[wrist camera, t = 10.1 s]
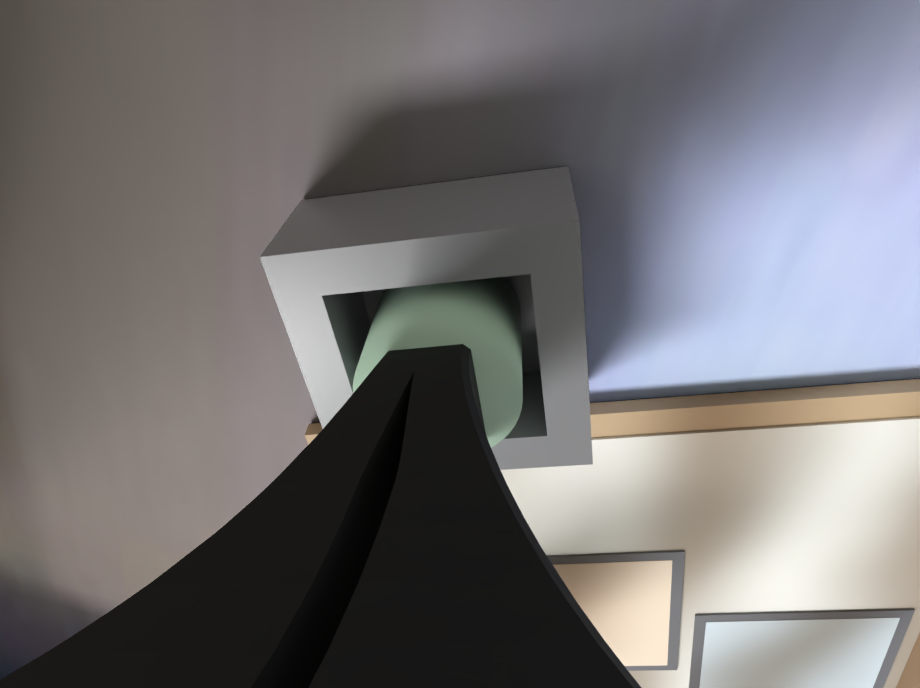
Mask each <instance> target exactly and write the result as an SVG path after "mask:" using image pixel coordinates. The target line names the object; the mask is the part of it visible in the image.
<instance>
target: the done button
mask: <svg viewBox="0 0 920 688" xmlns="http://www.w3.org/2000/svg"><path fill="white" fill-rule="evenodd" d="M457 344H464V345H465V346H467V347H468V348H469V349H471V352H472V358H473V364H474V369H475V375H476V381H477V386H478V392H479V398H480V403H481V409H482V415H483V420H484V426H485V431H486V436H487V439H488V441H489V444H490V447H491V448H492V447H493V446H495V445H497V444H498V443H499V442H500V441H502V440H503V439H504V438H505V437H506V436H507V435H508V434H509V433H510V432H511V430H512V429H513V428H514V426H515V425H516V423H517V421H518V419H519V416H520V413H521V410H522V403H523V383H522V329H521V311H520V306H519V303H518V300H517V297H516V295H515V294H514V292H513V290H512V288H511V287H510V286H509V284H508V283H507V282H506V281H505V280H504V279H503V278H502V277H497V278H487V279H477V280H468V281H458V282H449V283H439V284H429V285H420V286H410V287H401V288H391V289H384V291H383V293H382V296H381V299H380V301H379V304H378V307H377V310H376V313H375V316H374V319H373V322H372V325H371V328H370V330H369V333H368V336H367V339H366V342H365V345H364V348H363V351H362V354H361V357H360V359H359V362H358V365H357V368H356V371H355V375H354V379H353V393H354V392H355V391H356V389H357V388H358V387H359V386H360V384H361V383H362V382H363V381H364V379H365V378H366V377H367V376H368V375H369V373H370V372H371V371H372V370H373V368H374V367H375V366H376V365H377V364H378V362H379V361H380V360H381V359H382V358H383V357H384V355H385V354H386V353H387V352H388V351H391V350H402V349H413V348H424V347H435V346H446V345H457Z"/></svg>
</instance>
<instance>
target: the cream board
mask: <svg viewBox="0 0 920 688" xmlns="http://www.w3.org/2000/svg"><path fill="white" fill-rule="evenodd" d="M590 420H591V438H592V457H593V464H590V465H574V466H557V467H540V468H523V469H507V470H501V472H502V474H503V477H504V479H505V481H506V483H507V485H508V487H509V489H510V491H511V493H512V495H513V497H514V499H515V501H516V503H517V505H518V507H519V509H520V510H521V512H522V514H523V516H524V518H525V520H526V521H527V523H528V525H529V527H530V528H531V530H532V532H533V534H534V535H535V537H536V539H537V541H538V542H539V544H540V546H541V548H542V549H543V551H544V552H545V554H546V555H547V557H548V558H549V560H550V561H551V563H552V564H553V566H554V568H555V569H556V571H557V572H558V574H559V575H560V577H561V578H562V580H563V581H564V583H565V585H566V586H567V588H568V589H569V591H570V592H571V594H572V595H573V597H574V598H575V600H576V601H577V603H578V604H579V606H580V607H581V608H582V610H583V611H584V613H585V614H586V615H587V617H588V618H589V619H590V621H591V622H592V624H593V625H594V626H595V628H596V629H597V631H598V632H599V633H600V635H601V636H602V637H603V639H604V640H605V642H606V643H607V644H608V645H609V647H610V648H611V649H612V651H613V652H614V653H615V655H616V656H617V657H618V658H619V660H620V661H621V662H622V664H623V665H624V666H625V667H626V669H627V670H628V671H629V673H630V674H631V675H632V676H633V678H634V679H635V680H636V681H637V683H638V684H639V685H640V686H641V687H642V688H920V379H911V380H897V381H884V382H870V383H857V384H843V385H830V386H816V387H802V388H789V389H775V390H762V391H748V392H735V393H721V394H707V395H694V396H680V397H667V398H653V399H640V400H626V401H612V402H599V403H590ZM321 431H322V426H321V423H314V424H309V426H308V428H307V431H306V433H305V437H306V440H307V442H308V445H309V444H310V443H311V442H312V440H313V439H314V438H315V437H316V436H317V435H318V434H319V433H320V432H321Z"/></svg>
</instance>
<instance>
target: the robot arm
mask: <svg viewBox="0 0 920 688" xmlns="http://www.w3.org/2000/svg"><path fill="white" fill-rule="evenodd" d="M0 688H642V687H641V686H640V685H639V684H638V683H637V681H636V680H635V679H634V678H633V676H632V675H631V674H630V673H629V671H628V670H627V669H626V667H625V666H624V665H623V664H622V662H621V661H620V660H619V658H618V657H617V656H616V655H615V653H614V652H613V651H612V649H611V648H610V647H609V645H608V644H607V643H606V642H605V640H604V639H603V637H602V636H601V635H600V633H599V632H598V631H597V629H596V628H595V626H594V625H593V624H592V622H591V621H590V619H589V618H588V617H587V615H586V614H585V613H584V611H583V610H582V608H581V607H580V606H579V604H578V603H577V601H576V600H575V598H574V597H573V595H572V594H571V592H570V591H569V589H568V588H567V586H566V585H565V583H564V581H563V580H562V578H561V577H560V575H559V574H558V572H557V571H556V569H555V568H554V566H553V564H552V563H551V561H550V560H549V558H548V557H547V555H546V554H545V552H544V551H543V549H542V548H541V546H540V544H539V542H538V541H537V539H536V537H535V535H534V534H533V532H532V530H531V528H530V527H529V525H528V523H527V521H526V520H525V518H524V516H523V514H522V512H521V510H520V509H519V507H518V505H517V503H516V501H515V499H514V497H513V495H512V493H511V491H510V489H509V487H508V485H507V483H506V481H505V479H504V477H503V474H502V472H501V470H500V468H499V466H498V463H497V461H496V458H495V456H494V454H493V451H492V449H491V447H490V444H489V441H488V439H487V436H486V431H485V426H484V420H483V415H482V409H481V403H480V398H479V392H478V386H477V381H476V375H475V369H474V364H473V358H472V352H471V349H469V348H468V347H467V346H465V345H464V344H457V345H446V346H435V347H424V348H413V349H402V350H391V351H388V352H387V353H386V354H385V355H384V357H383V358H382V359H381V360H380V361H379V362H378V364H377V365H376V366H375V367H374V368H373V370H372V371H371V372H370V373H369V375H368V376H367V377H366V378H365V379H364V381H363V382H362V383H361V384H360V386H359V387H358V388H357V389H356V391H355V392H354V393H353V394H352V395H351V397H350V398H349V399H348V400H347V401H346V403H345V404H344V405H343V406H342V407H341V409H340V410H339V411H338V412H337V413H336V414H335V416H334V417H333V418H332V419H331V420H330V421H329V422H328V424H327V425H326V426H325V427H324V428H323V429H322V431H321V432H320V433H319V434H318V435H317V436H316V437H315V438H314V439H313V440H312V442H311V443H310V444H309V445H308V446H307V447H306V448H305V449H304V450H303V451H302V452H301V453H300V454H299V455H298V456H297V457H296V458H295V459H294V461H293V462H292V463H291V464H290V465H289V466H288V467H287V468H286V469H285V470H284V471H283V472H282V473H281V474H280V475H279V476H278V477H277V478H276V479H275V480H274V481H273V482H272V483H271V484H270V485H269V486H268V487H267V488H266V489H265V490H264V491H263V492H261V493H260V494H259V495H258V496H257V497H256V498H255V499H254V500H253V501H252V502H251V503H249V504H248V505H247V506H246V507H245V508H244V509H243V510H241V511H240V512H239V513H238V514H237V515H236V516H235V517H233V518H232V519H231V520H230V521H229V522H228V523H227V524H226V525H224V526H223V527H222V528H221V529H220V530H218V531H217V532H216V533H215V534H214V535H212V536H211V537H210V538H208V539H207V540H206V541H205V542H203V543H202V544H201V545H199V546H198V547H197V548H195V549H194V550H193V551H192V552H190V553H189V554H188V555H186V556H185V557H184V558H183V559H181V560H180V561H179V562H177V563H176V564H175V565H173V566H172V567H171V568H170V569H168V570H167V571H166V572H164V573H163V574H162V575H161V576H159V577H158V578H157V579H155V580H154V581H153V582H151V583H150V584H148V585H147V586H146V587H144V588H143V589H141V590H140V591H139V592H137V593H136V594H134V595H133V596H131V597H130V598H129V599H127V600H126V601H124V602H123V603H121V604H120V605H118V606H117V607H116V608H114V609H113V610H111V611H110V612H108V613H107V614H105V615H104V616H102V617H101V618H99V619H98V620H96V621H95V622H93V623H92V624H90V625H89V626H87V627H85V628H84V629H82V630H81V631H79V632H78V633H76V634H75V635H73V636H72V637H70V638H69V639H67V640H65V641H64V642H62V643H61V644H59V645H58V646H56V647H54V648H53V649H51V650H50V651H48V652H46V653H45V654H43V655H41V656H40V657H38V658H36V659H35V660H33V661H31V662H30V663H28V664H26V665H24V666H23V667H21V668H19V669H18V670H16V671H14V672H13V673H11V674H9V675H7V676H6V677H4V678H2V679H1V680H0Z"/></svg>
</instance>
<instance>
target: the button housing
mask: <svg viewBox="0 0 920 688" xmlns="http://www.w3.org/2000/svg"><path fill="white" fill-rule="evenodd" d="M260 259H261V262H262V265H263V267H264V270H265V273H266V276H267V278H268V281H269V284H270V287H271V289H272V292H273V295H274V297H275V300H276V303H277V306H278V308H279V311H280V314H281V317H282V319H283V322H284V325H285V328H286V330H287V333H288V336H289V338H290V341H291V344H292V347H293V349H294V352H295V355H296V358H297V360H298V363H299V366H300V369H301V371H302V374H303V377H304V379H305V382H306V385H307V388H308V390H309V393H310V396H311V399H312V401H313V404H314V407H315V410H316V412H317V415H318V418H319V420H320V423H321V426H322V429H323V428H324V427H325V426H326V425H327V424H328V422H329V421H330V420H331V419H332V418H333V417H334V416H335V414H336V413H337V412H338V411H339V410H340V409H341V407H342V406H343V405H344V404H345V403H346V401H347V400H348V399H349V398H350V397H351V395H352V394H353V379H354V375H355V371H356V368H357V365H358V362H359V359H360V357H361V354H362V351H363V348H364V345H365V342H366V339H367V336H368V333H369V330H370V328H371V325H372V322H373V319H374V316H375V313H376V310H377V307H378V304H379V301H380V299H381V296H382V293H383V291H384V289H391V288H401V287H410V286H420V285H429V284H439V283H449V282H458V281H468V280H477V279H487V278H497V277H502V278H503V279H504V280H505V281H506V282H507V283H508V284H509V286H510V287H511V288H512V290H513V292H514V294H515V295H516V297H517V300H518V303H519V306H520V311H521V329H522V383H523V403H522V410H521V413H520V416H519V419H518V421H517V423H516V425H515V426H514V428H513V429H512V430H511V432H510V433H509V434H508V435H507V436H506V437H505V438H504V439H503V440H502V441H500V442H499V443H498V444H497V445H495V446H493V447H492V448H491V449H492V451H493V454H494V456H495V458H496V461H497V463H498V466H499V468H500V470H507V469H523V468H540V467H557V466H574V465H590V464H593V457H592V438H591V420H590V401H589V383H588V364H587V345H586V327H585V308H584V290H583V271H582V252H581V234H580V219H579V214H578V210H577V205H576V200H575V196H574V191H573V186H572V182H571V177H570V172H569V168H568V166H565V167H557V168H549V169H541V170H533V171H526V172H518V173H510V174H502V175H494V176H486V177H479V178H471V179H463V180H455V181H447V182H439V183H432V184H424V185H416V186H408V187H400V188H392V189H385V190H377V191H369V192H361V193H353V194H345V195H338V196H330V197H322V198H314V199H306V200H301V202H300V203H299V204H298V206H297V207H296V208H295V210H294V211H293V213H292V214H291V215H290V217H289V218H288V219H287V221H286V222H285V223H284V225H283V226H282V227H281V229H280V230H279V232H278V233H277V234H276V236H275V237H274V238H273V240H272V241H271V242H270V244H269V245H268V247H267V248H266V249H265V251H264V252H263V253H262V255H261V256H260Z"/></svg>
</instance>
